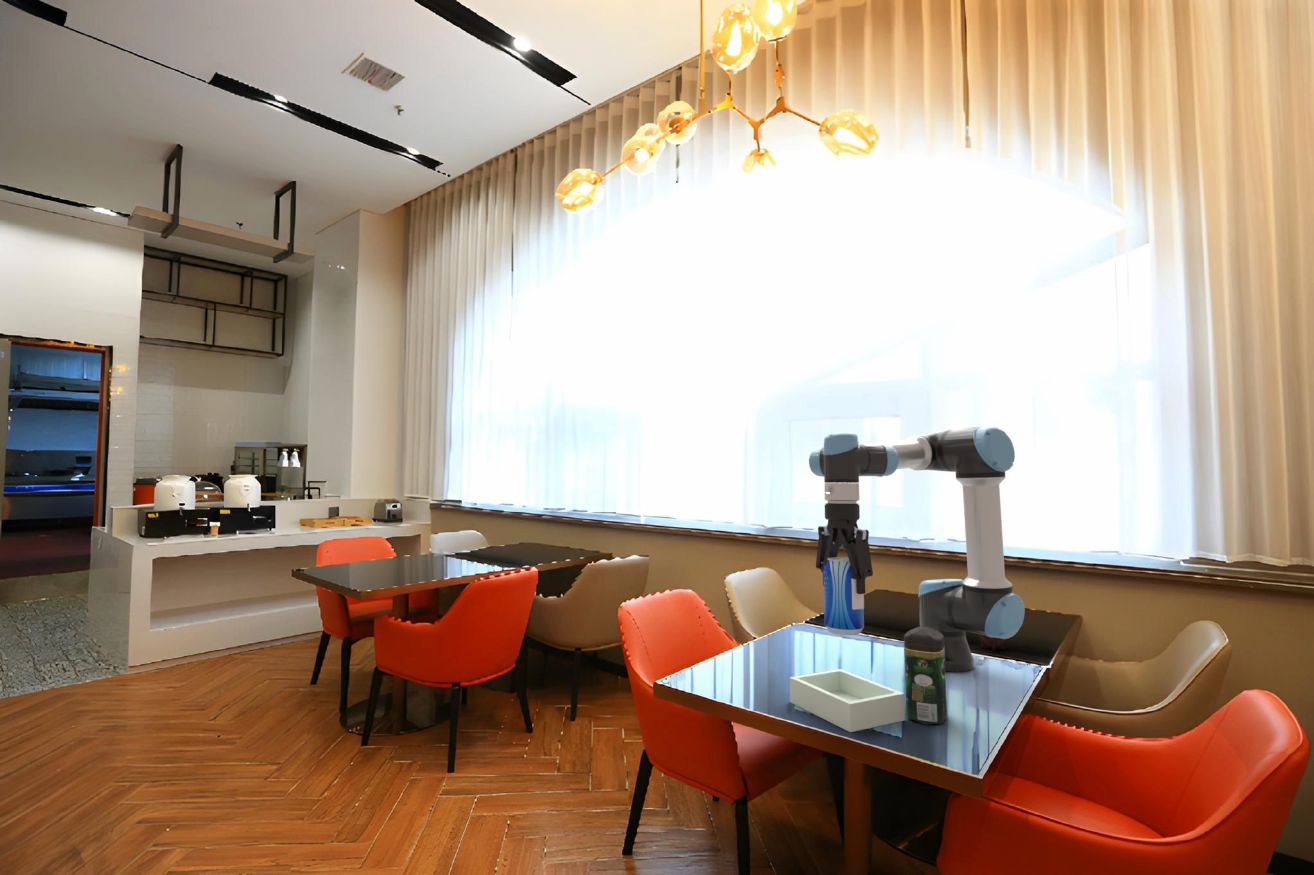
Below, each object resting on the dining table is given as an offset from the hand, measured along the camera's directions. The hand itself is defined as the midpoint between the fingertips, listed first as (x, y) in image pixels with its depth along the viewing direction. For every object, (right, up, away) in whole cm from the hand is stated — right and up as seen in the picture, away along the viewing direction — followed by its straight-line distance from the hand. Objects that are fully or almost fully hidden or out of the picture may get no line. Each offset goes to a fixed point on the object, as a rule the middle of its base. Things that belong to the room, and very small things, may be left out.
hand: (843, 605), depth 140 cm
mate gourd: (+61, -27, +51) cm, 84 cm away
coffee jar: (+16, -23, -5) cm, 28 cm away
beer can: (0, -6, 0) cm, 6 cm away
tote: (0, -23, -1) cm, 23 cm away
